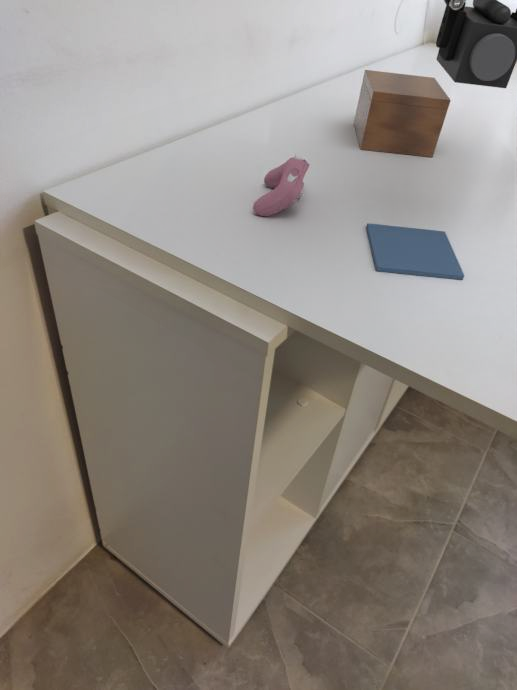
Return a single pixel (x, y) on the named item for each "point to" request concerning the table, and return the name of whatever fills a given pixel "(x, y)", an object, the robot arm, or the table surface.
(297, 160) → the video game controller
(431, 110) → the wooden block
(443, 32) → the robot arm
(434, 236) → the felt pad
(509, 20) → the dark grey boxy piece
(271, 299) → the table surface
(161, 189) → the table surface
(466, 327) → the table surface
